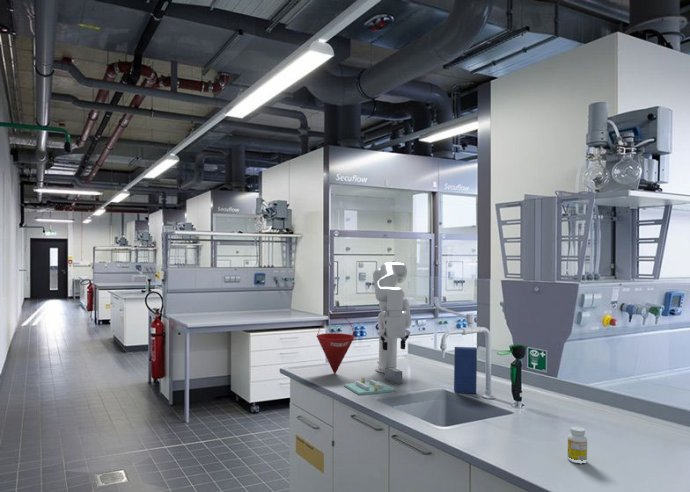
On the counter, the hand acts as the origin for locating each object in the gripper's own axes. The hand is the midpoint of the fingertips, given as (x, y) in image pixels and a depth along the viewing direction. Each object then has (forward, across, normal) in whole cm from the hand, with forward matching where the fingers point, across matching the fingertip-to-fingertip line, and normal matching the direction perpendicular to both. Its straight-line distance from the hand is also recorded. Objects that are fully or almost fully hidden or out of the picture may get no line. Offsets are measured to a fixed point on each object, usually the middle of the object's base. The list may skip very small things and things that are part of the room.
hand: (394, 349), depth 245 cm
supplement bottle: (+18, +4, -103) cm, 105 cm away
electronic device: (+16, +21, -27) cm, 38 cm away
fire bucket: (+15, -20, +26) cm, 36 cm away
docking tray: (+16, -17, -7) cm, 24 cm away
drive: (+16, 0, +1) cm, 16 cm away
